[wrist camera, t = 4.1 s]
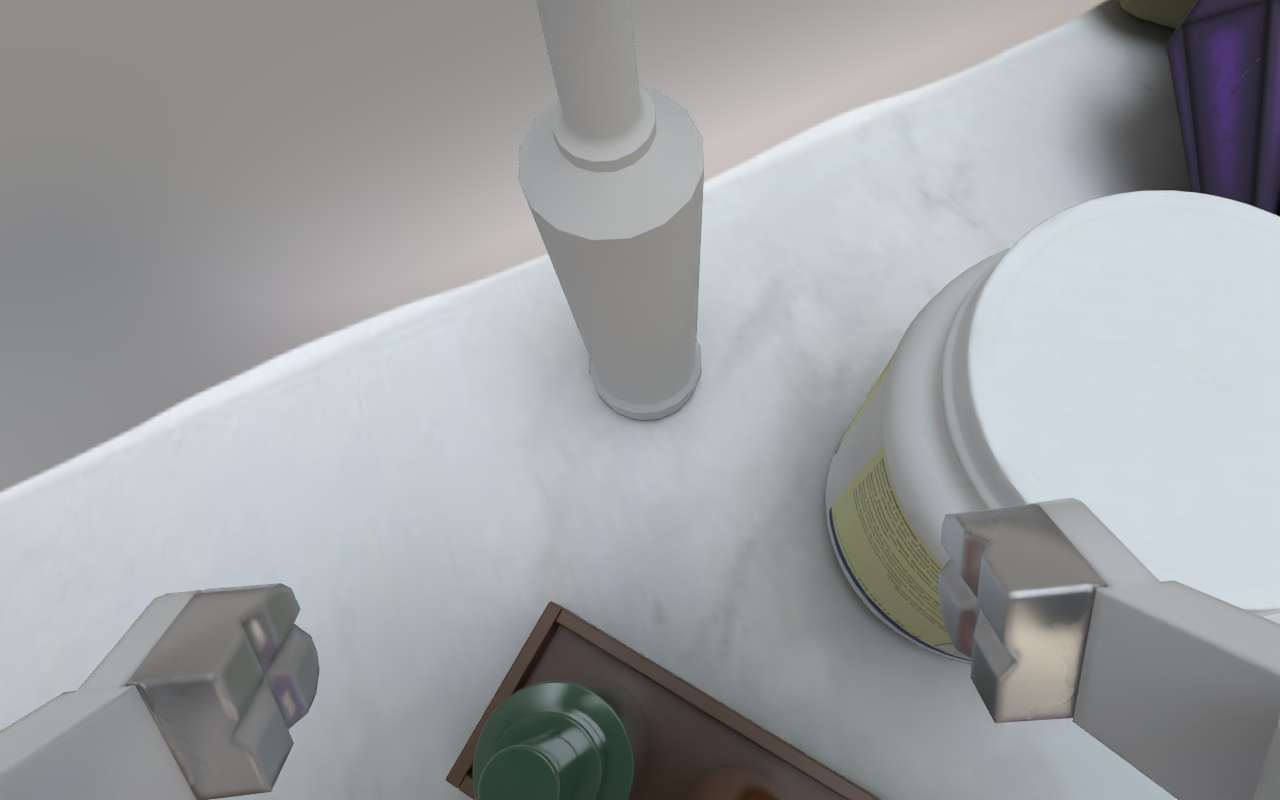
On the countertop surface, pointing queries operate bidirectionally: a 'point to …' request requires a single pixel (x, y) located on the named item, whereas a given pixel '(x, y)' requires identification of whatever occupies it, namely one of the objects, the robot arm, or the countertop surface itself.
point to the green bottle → (563, 743)
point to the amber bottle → (733, 785)
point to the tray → (658, 717)
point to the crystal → (1230, 98)
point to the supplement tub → (1082, 405)
